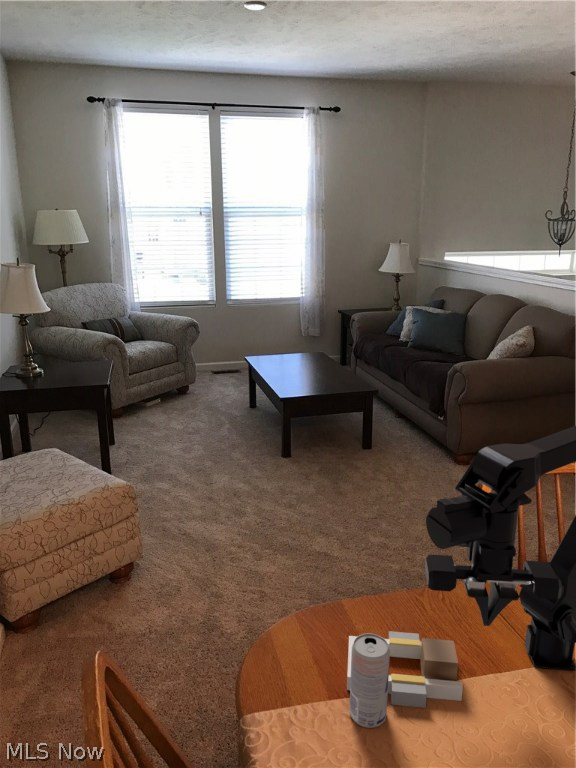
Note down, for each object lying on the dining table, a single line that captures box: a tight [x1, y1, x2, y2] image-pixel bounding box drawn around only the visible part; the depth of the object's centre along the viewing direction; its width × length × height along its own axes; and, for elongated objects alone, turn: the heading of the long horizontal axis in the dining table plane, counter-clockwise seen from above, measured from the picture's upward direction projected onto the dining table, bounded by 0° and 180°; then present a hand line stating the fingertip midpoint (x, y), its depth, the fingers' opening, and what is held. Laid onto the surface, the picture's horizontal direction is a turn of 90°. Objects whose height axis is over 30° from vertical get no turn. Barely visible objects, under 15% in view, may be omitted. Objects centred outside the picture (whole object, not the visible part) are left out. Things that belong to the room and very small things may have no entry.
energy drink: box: [349, 632, 391, 729], centre depth 85 cm, size 5×5×12 cm
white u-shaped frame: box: [346, 630, 464, 708], centre depth 94 cm, size 17×13×3 cm
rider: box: [419, 637, 459, 681], centre depth 93 cm, size 5×5×5 cm
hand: (485, 624), depth 90 cm, fingers closed
